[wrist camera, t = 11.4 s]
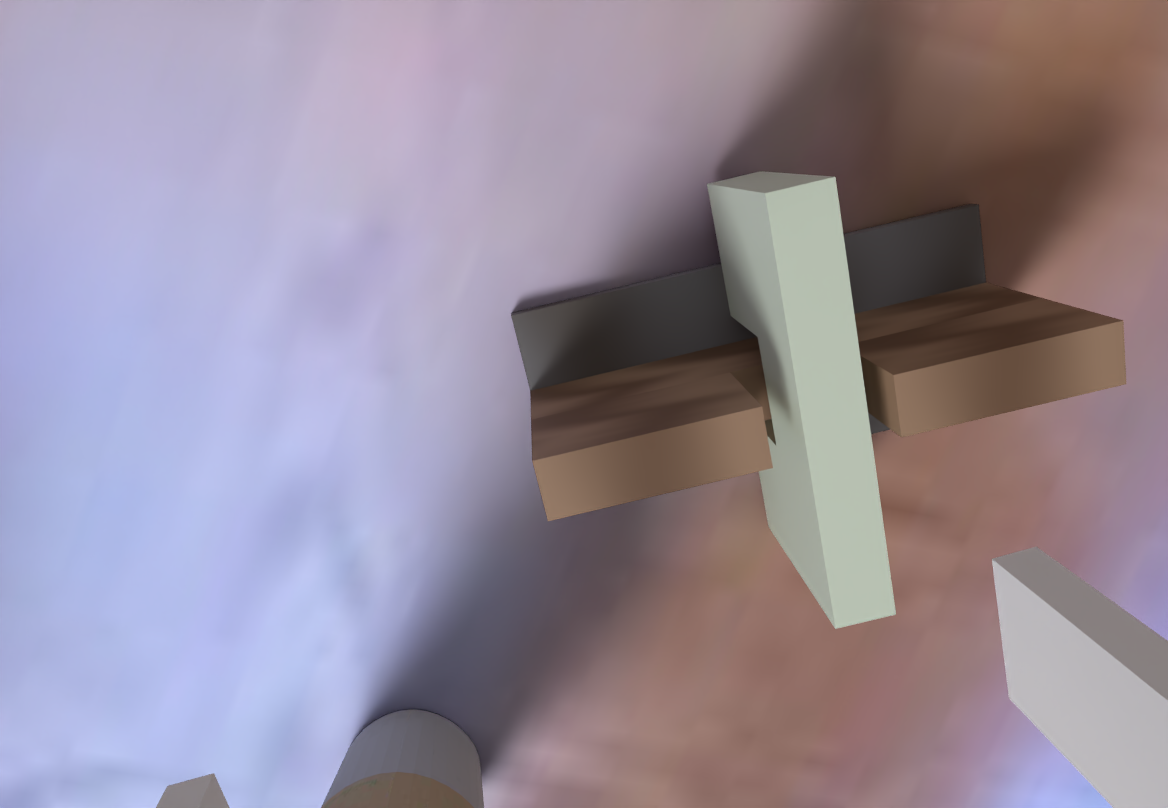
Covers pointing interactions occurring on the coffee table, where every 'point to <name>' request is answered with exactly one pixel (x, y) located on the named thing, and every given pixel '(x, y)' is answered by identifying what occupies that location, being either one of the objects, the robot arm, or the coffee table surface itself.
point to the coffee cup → (409, 766)
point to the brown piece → (736, 378)
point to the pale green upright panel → (808, 384)
